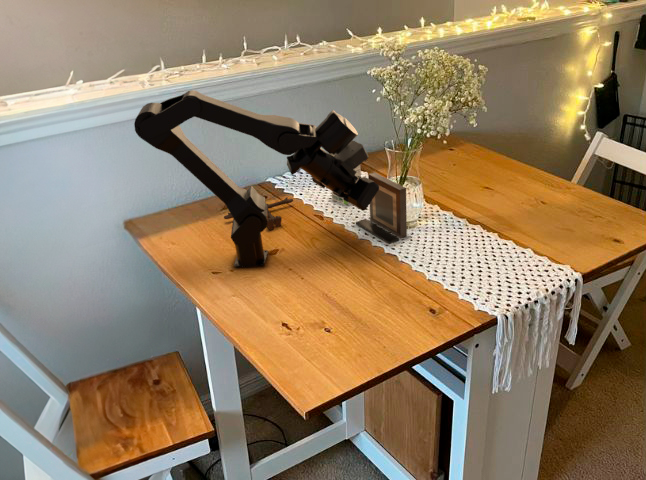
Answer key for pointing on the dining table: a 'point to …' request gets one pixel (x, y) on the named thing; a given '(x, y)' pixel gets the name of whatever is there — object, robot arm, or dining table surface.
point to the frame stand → (377, 231)
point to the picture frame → (389, 206)
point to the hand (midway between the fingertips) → (368, 201)
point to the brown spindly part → (271, 219)
